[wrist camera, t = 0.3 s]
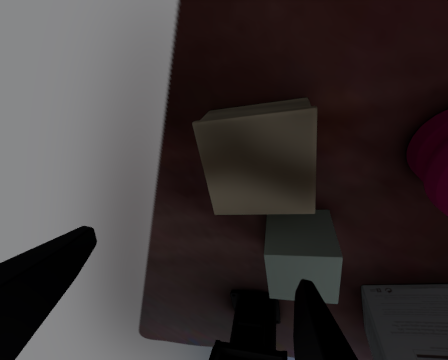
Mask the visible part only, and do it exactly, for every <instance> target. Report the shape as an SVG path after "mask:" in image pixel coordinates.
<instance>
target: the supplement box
mask: <svg viewBox="0 0 448 360" xmlns="http://www.w3.org/2000/svg"><path fill="white" fill-rule="evenodd" d="M361 293H362V305H363V317H364V328H365V332H366V335H367V339H368V342H369V346H370V349H371V353H372V356H373V360H448V284H421V285H363V286H361Z"/></svg>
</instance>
